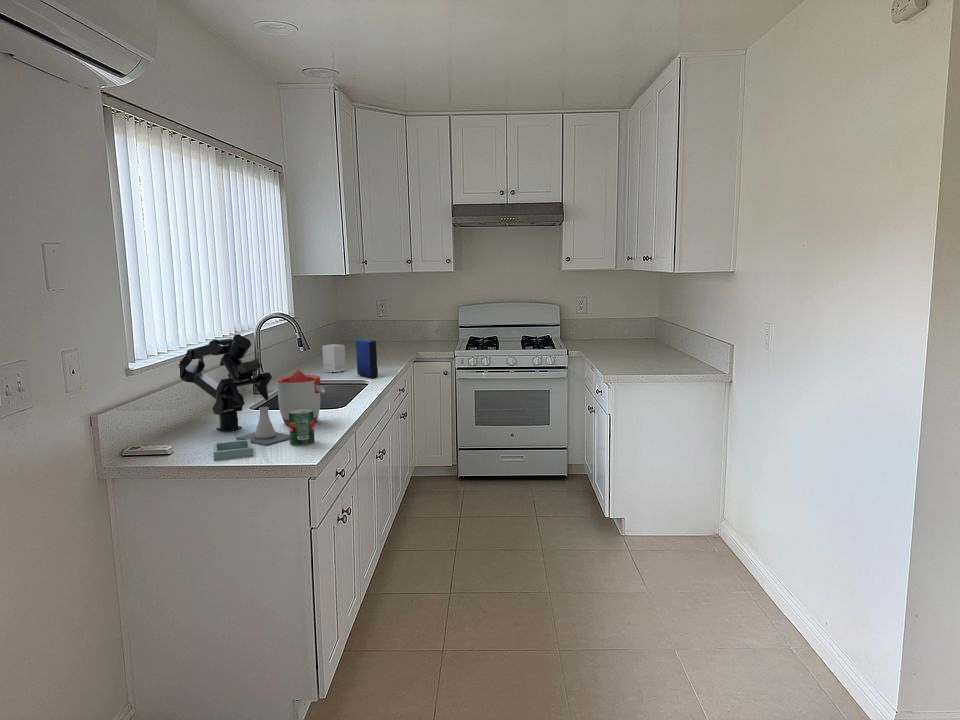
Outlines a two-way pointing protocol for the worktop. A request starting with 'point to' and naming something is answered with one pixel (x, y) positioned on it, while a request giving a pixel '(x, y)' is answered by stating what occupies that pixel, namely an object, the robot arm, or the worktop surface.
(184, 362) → the robot arm
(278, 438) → the mat
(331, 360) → the supplement box
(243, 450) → the shallow square tray
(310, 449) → the worktop surface
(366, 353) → the book
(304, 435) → the canned tomato
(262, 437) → the flask
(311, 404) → the citrus juicer
